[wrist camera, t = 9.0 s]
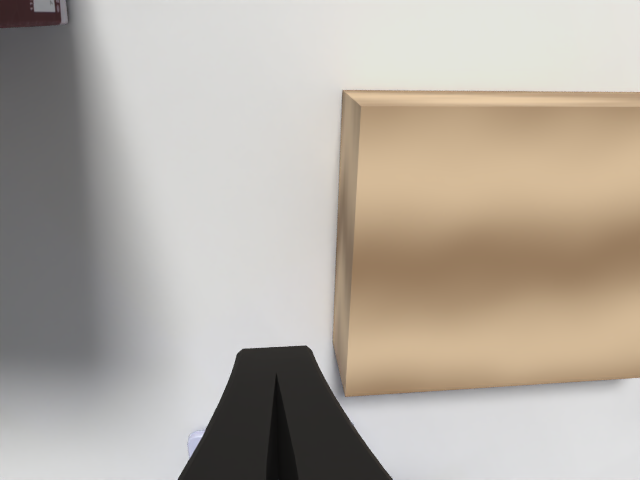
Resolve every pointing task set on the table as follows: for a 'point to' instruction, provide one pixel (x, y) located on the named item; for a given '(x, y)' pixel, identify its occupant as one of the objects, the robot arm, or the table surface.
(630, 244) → the deck
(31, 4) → the supplement box
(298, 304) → the table surface
